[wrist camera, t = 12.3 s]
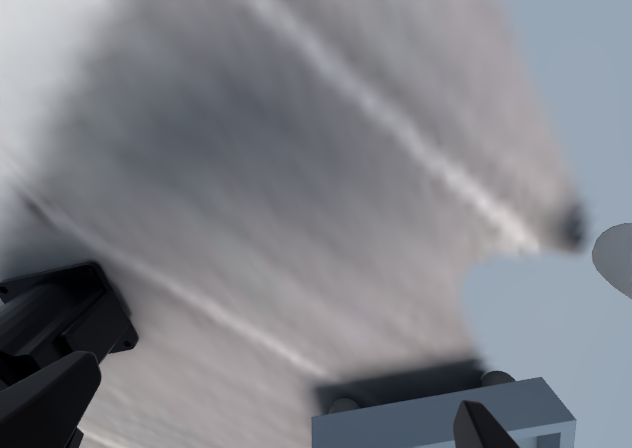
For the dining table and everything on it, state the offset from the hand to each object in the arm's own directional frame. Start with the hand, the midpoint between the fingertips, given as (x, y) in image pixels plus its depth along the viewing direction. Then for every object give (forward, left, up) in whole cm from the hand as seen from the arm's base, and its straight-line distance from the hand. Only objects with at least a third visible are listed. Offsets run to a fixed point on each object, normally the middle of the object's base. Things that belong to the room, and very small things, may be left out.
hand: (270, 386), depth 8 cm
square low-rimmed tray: (+6, -20, -12) cm, 24 cm away
